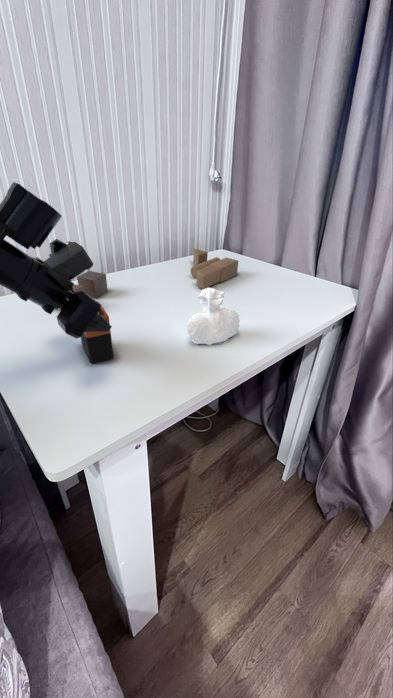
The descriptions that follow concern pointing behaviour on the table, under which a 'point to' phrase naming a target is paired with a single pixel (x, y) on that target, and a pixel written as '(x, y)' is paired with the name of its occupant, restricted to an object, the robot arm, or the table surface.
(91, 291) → the line block far
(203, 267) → the wooden block set
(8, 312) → the table surface
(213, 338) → the bust
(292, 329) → the table surface
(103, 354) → the battery
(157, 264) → the table surface
